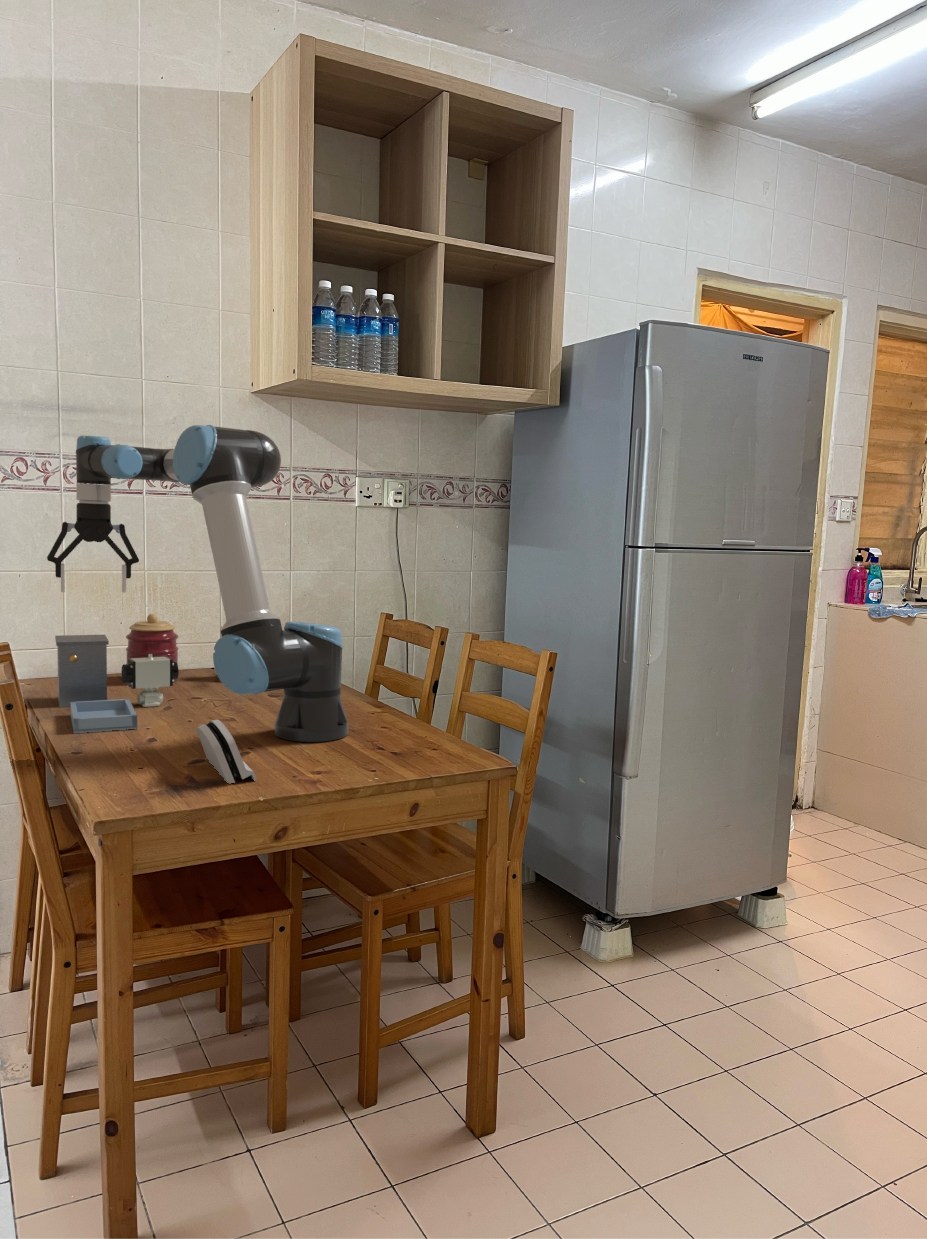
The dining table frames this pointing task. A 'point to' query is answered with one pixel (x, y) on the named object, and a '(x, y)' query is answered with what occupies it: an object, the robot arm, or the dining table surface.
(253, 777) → the grey curved fin
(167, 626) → the canister
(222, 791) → the dining table surface
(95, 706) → the tray
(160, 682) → the pneumatic valve
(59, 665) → the box
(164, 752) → the dining table surface
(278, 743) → the dining table surface
